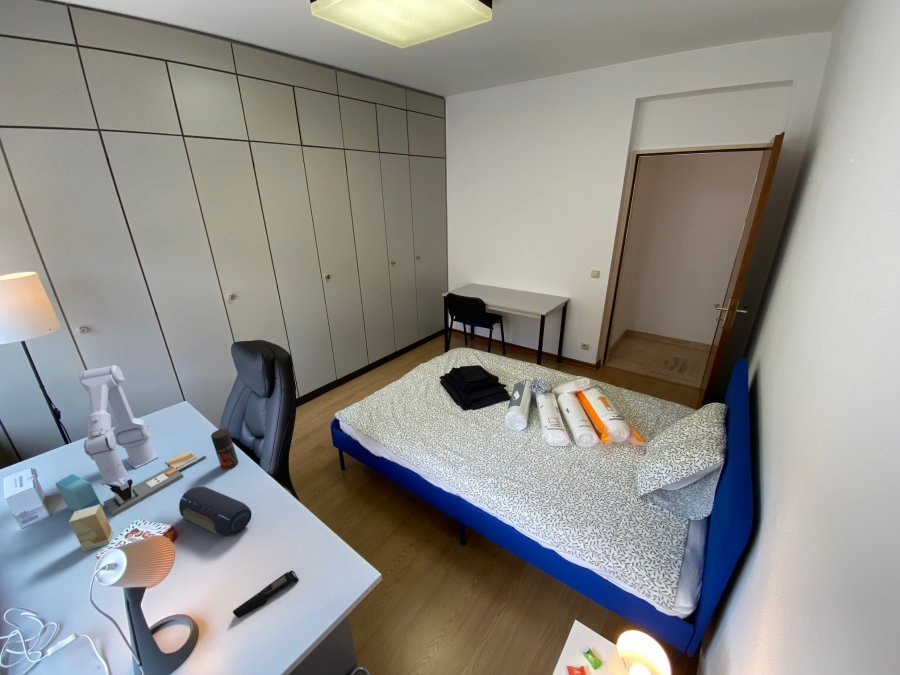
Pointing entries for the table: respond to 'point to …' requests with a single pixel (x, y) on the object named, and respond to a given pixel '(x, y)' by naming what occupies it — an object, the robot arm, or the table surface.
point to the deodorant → (224, 449)
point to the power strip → (149, 487)
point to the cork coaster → (181, 459)
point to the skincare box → (91, 527)
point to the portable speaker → (214, 511)
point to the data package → (77, 493)
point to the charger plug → (122, 500)
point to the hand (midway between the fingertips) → (125, 496)
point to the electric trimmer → (266, 594)
